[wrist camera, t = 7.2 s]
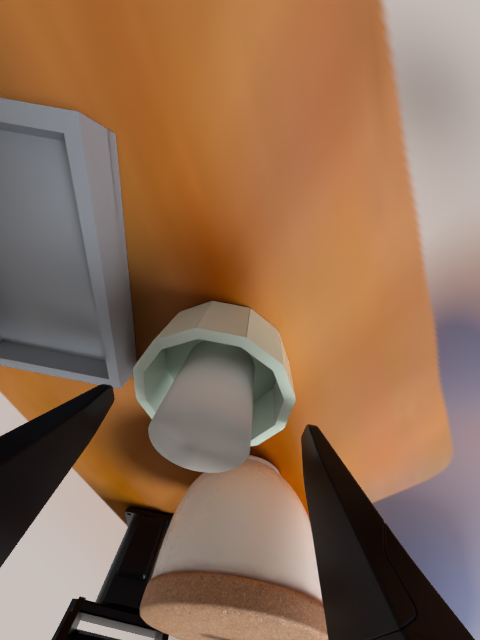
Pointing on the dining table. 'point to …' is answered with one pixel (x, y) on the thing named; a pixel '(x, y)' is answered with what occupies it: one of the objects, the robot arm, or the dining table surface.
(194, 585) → the lidded jar
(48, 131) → the parts tray
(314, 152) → the dining table surface
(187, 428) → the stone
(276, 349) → the bowl
